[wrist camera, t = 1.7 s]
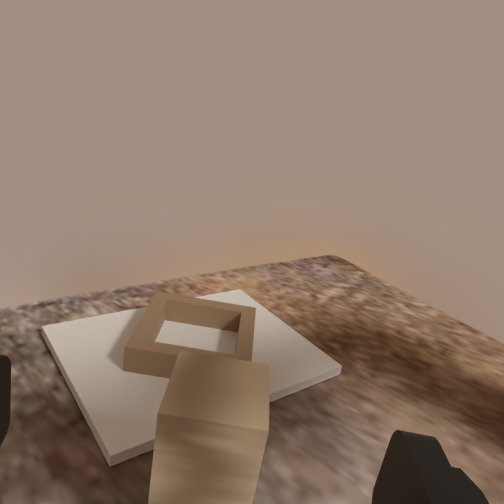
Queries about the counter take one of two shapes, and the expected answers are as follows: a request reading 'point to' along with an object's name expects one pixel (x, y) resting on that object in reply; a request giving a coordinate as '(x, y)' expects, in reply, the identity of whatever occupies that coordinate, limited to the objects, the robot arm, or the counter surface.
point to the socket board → (144, 394)
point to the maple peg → (210, 431)
